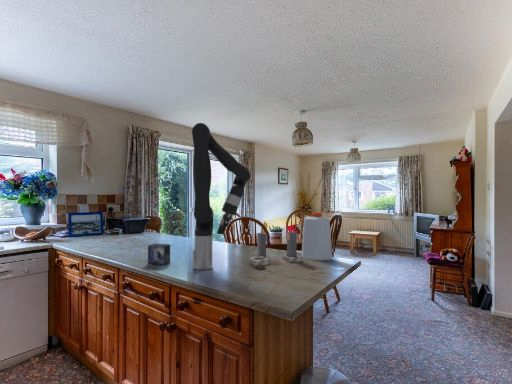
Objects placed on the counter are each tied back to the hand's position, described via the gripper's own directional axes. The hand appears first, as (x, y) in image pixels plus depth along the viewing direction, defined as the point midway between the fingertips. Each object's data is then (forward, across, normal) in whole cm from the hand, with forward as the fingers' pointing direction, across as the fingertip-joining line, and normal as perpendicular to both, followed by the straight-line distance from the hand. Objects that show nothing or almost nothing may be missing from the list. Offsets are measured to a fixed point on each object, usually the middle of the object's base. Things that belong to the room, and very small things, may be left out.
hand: (219, 233), depth 140 cm
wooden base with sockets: (+4, -8, +36) cm, 37 cm away
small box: (+26, -26, -22) cm, 43 cm away
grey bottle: (-8, -13, +62) cm, 64 cm away
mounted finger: (-2, -9, +45) cm, 46 cm away
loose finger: (+4, -18, +31) cm, 36 cm away
